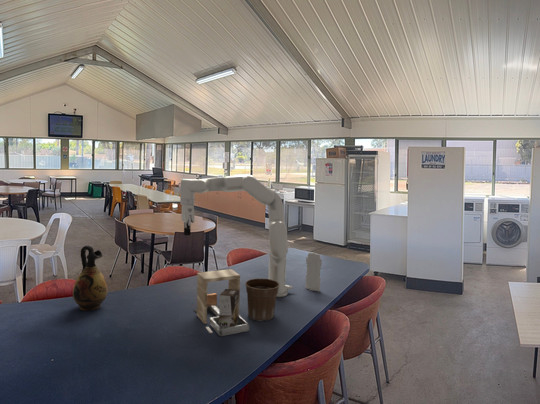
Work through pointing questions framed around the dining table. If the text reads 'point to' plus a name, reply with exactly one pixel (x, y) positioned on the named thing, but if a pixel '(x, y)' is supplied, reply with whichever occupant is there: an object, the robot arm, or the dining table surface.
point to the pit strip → (207, 308)
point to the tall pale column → (313, 271)
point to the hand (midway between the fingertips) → (187, 235)
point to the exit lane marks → (209, 329)
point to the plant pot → (261, 298)
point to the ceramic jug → (90, 282)
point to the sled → (215, 320)
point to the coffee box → (228, 308)
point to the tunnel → (211, 277)
